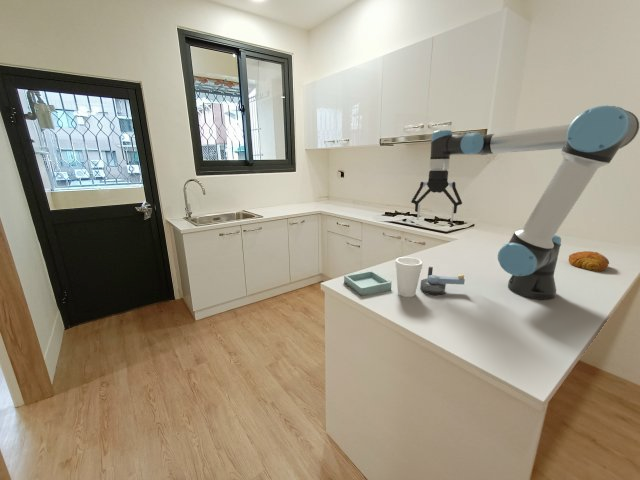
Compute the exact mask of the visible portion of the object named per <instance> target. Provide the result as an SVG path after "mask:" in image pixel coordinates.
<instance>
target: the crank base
mask: <svg viewBox="0 0 640 480" xmlns="http://www.w3.org/2000/svg"><path fill="white" fill-rule="evenodd" d="M433 270H434V269H433V266H428V269H427V271H428V272H427V277H428V276H429V275H433ZM446 285H447V284H430V283H428V278H423V279H421V281H420V291H421V292H423V294H427V295H430V296H442V295H445V293H446Z"/></svg>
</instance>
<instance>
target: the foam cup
mask: <svg viewBox="0 0 640 480" xmlns="http://www.w3.org/2000/svg"><path fill="white" fill-rule="evenodd" d="M395 269H396V271H395V272H396V283H397V284H396V285H397V294H398V295H399V296H402V297H405V298H412V297H414V296H415V295H416V291H417V289H418V288H417V287H418V284H419V280H420V276H421V272H422V269H423V261H422V260H421V259H419V258H416V257H411V256H401V257H397V258H396V259H395Z"/></svg>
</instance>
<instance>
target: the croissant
mask: <svg viewBox="0 0 640 480" xmlns="http://www.w3.org/2000/svg"><path fill="white" fill-rule="evenodd" d="M609 261H610V260H609V259H608V258H607V257H606V256H604V255H603V254H601V253H600V252H597V251H589V250H588V251H586V250H585V251H577V252H574V253H572V254H569V255H568V262H569V264H570V265H572V266H574V267H575V268H579V269H583V270H589V271H594V272H603V270H605V269H608V267H609V265H610V262H609Z"/></svg>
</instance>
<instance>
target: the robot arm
mask: <svg viewBox="0 0 640 480" xmlns="http://www.w3.org/2000/svg"><path fill="white" fill-rule="evenodd" d="M639 130H640V122H639V119H638V116H636V114H634V113H633V112H631V111H629V110H626V109H625V108H622V107H619V106H615V105H599V106H595V107H591V108H588V109H587V110H584V111H583V112H581V113H580V114H578V115H577V116H576V117H575V118H574V119H573V120H572V122H570V123H568V124H562V125H556V126H555V125H552V126H546V127H538V128H537V127H536V128H530V129H522V130H521V129H520V130H515V131H506V132H498V133H489V134H481V133H479V132H469V133H460V134H453V131H452V130H451V129H450V130H449V129H445V130H443V129H441V130H436V131H433V133H431V134H432V135H431V141H430V159H429V167H428V168H429V171H428V178H427V179H428V181H423V180H422V181H421V182H420V184H419V187H418V189H417V191H416V193H415V194H414V196H413V198H412V199H411V201H410V202H411V203H412V204H414V205H415V206H414V212H416V213H417V214H416V215H417V216H416V217H417V218H416V220H417V221H418V220H420V212H421V204H420V203H421V202H422V201H423V200H424V199H425V198H426V197H427V195H430V193H434V194H435V193H439V194H441V193H444V194H445V195H446V197H447V198H448V199H449V201H450V202H451V203H452V204H453V205H451V211H450V212H451V213H450V222H453V221H454V214H457V212H458V206H461V205H462V204H463V202H462V199H461V197H460V195H459V192H458V190H457V187H456V182H455V181H450V182H449V181H448V179H449V168H450V157H451V156H453V155H481V156H485V155H493V154H506V153H519V152H521V153H522V152H533V151H546V150H550V151H551V150H561V151H560V153H561V155H562V160H561V161H560V164H559V166H558V167H557V168H556V170H555V173H554V174H553V176H552V178H551V179H550V181H549V183H548V185H547V186H546V188H545V189H544V191H543V193H542V194H541V196H540V197H539V200H538V202H537V203H536V205H535V206H534V208H533V210H532V212H531V214H529V215H530V216H529V217H528V218H527V220H526V222H525V224H524V225H523V227H522V228H519V229H516V230H515V231H514V233H513V234H512V236H511V238H510V239H509V242H508V243H506V244H504V245H503V246H502V247H501V248H500V249H499V251H498V253H497V261H498V263H499V266H500V268H502V269H503V271H504V272H506V273H507V274H510V275H511V276H510V278H509V280H508V284H507V288H508V290H510V291H511V292H513V293H514V294H517V295H520V296H522V297H525V298H531V299H535V300H536V299H537V300H552V299H555V297H556V295H557V286H556V282H555V276H554V275H555V272H556V267H557V262H558V257H559V253H560V248H561V247H562V244H561V243H562V237H561V236H559V235H557V234H556V233H557V232H558V230H559V229H560V228H561V227H562V224H563V223H564V221H565V219H566V218H567V217H568V216H569V214H570V212H571V211H572V209H573V208H574V206H575V204H576V203H577V201H578V200H579V199H580V197H581V196H582V194H583V192H584V191H585V190H586V188H587V186H588V184H589V183H590V182H591V180H592V178H593V177H594V175H595V174H596V172H597V171H598V169H599V168H601V167H604V166H607V165H609V164H610V163H611V162H612V160H613V158H614V157H615V155H616V154H617V152H618V151H619V150H620V149H622V148H624V147H626V146H627V145H629V144H630V143H632V141H634V139H636V138H635V137H637V135H638V134H639V133H638V132H639ZM426 186H427V187H428V189H427V190H426V191H425V192H424V193H423V194H422V195H421V196H420V197H418V196H419V195H420V193H421V191H422V190H423V188H425V187H426ZM448 186H449V187H450V188H451V189H452V191H453V193H454V195H455V197H456V200H457V201H456V200H455V199H454V198H453V197H452V195H451V194H450V193H449V191H448V190H447V188H448ZM417 198H418V199H417ZM416 199H417V200H416Z"/></svg>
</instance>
